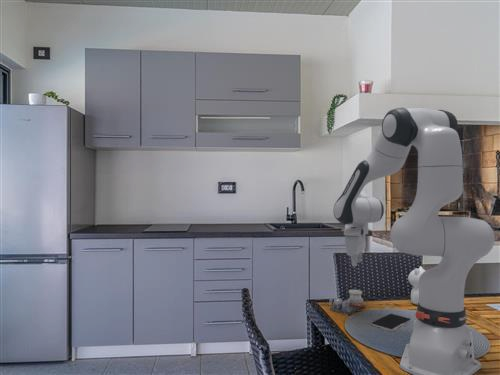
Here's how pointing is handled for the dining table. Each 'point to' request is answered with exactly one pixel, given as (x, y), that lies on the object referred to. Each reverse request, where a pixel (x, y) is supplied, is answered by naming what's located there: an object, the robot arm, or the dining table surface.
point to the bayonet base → (344, 306)
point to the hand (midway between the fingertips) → (356, 263)
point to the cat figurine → (415, 284)
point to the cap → (355, 297)
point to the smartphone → (390, 322)
